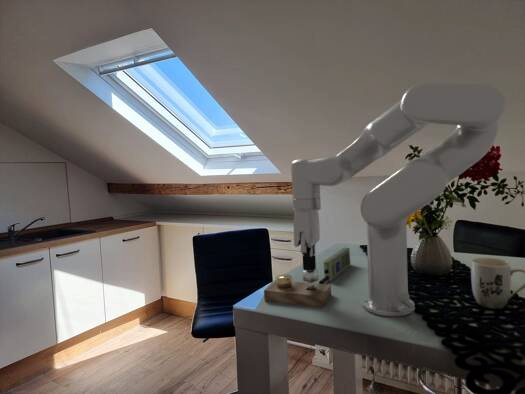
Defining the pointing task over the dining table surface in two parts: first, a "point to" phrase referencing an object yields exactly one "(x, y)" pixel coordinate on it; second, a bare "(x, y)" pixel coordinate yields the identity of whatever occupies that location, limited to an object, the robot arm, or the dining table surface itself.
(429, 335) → the dining table surface
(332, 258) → the handheld radio
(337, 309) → the dining table surface
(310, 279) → the steel knob
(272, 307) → the dining table surface
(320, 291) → the panel
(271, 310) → the dining table surface
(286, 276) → the brass knob
